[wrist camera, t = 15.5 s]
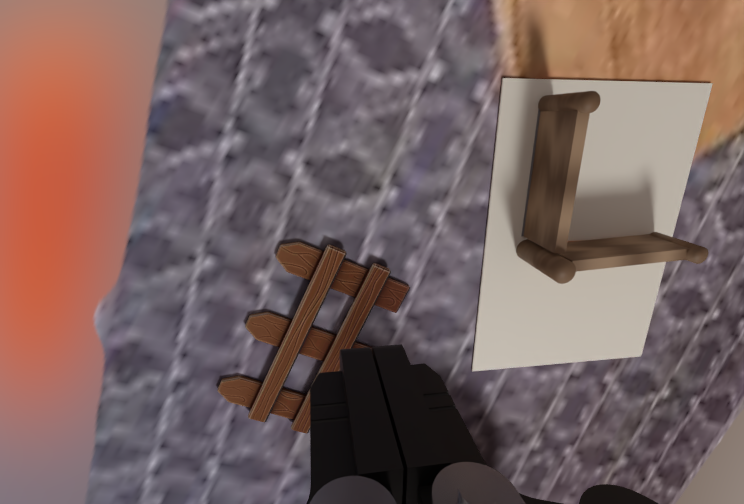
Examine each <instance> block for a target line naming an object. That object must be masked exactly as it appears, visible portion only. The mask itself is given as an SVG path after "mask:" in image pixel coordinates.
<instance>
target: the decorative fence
mask: <svg viewBox="0 0 744 504" xmlns="http://www.w3.org/2000/svg"><path fill="white" fill-rule="evenodd" d="M345 256H346V251H345V250H342V249H340V248H337V247H335V246H333V245H330V244H329V245H327V247H326V249H325V251H322V250H320V249H317V248H315V247H312V246H310V245H307V244H305V243H302V242H293V243H286V244H281V245H280V247H279V249H278V251H277V254H276V258H277V260H278V261H279V262H280V264H281V265H282V266H283V268H284V269H285V270H286V271H287V272H289V273H292V274H294V275H297V276H300V277H302V278H305V279H307V280H310V283H309V285H308V287H307V290H306V292H305V294H304V296H303V298H302V300H301V302H300V305H299V307H298V309H297V311H296V313H295V315H294V318H293V320H292V319H289V318H286V317H283V316H280V315H277V314H275V313H272V312H262V313H256V314H251V315H250V316H249V318H248V320H247V323H246V325H245V327H246V328H247V330H248V331H249V332H250V333H251V334H252V335H253V336H254V338H255V339H256V340H259V341H262V342H265V343H268V344H271V345H274V346H277V347H280V348H279V350H278V352H277V354H276V356H275V358H274V361H273V363H272V365H271V367H270V369H269V371H268V373H267V376H266V378H265V380H264V382H261V381H258V380H254V379H251V378H247V377H244V376H234V377H228V378H223V379H222V380H221V382H220V385H219V387H218V392H219V393H220V394H221V395H222V396H223V397H224V398H225V399H226V400H227V401H228V402H231V403H234V404H238V405H242V406H245V407H249V408H251V410H250V412H249V414H248V417H249V418H250V419H253V420H257V421H261V422H266V421H267V419H268V416H269V414H270V413H271V414H275V415H279V416H282V417H286V418H290V419H293V420H294V421H293V423H292V425H291V429H292V430H295V431H299V432H303V433H306V434H307V433H308V432H309V430H310V389H309V391H308V393H307V395H305V394H302V393H298V392H295V391H292V390H288V389H285V388H282V387H283V385H284V383H285V381H286V379H287V377H288V375H289V373H290V371H291V369H292V366H293V364H294V362H295V360H296V358H297V356H298V354H302V355H305V356H309V357H312V358H315V359H318V360H321V361H323V363H322V365H321V367H320V369H319V371H318V373H317V375H316V377H317V376H318V374H319V373H323V372H335V371H340V349H352V348H365V347H370V346H367V345H364V344H362V343H359V342H356V339H357V337H358V335H359V333H360V331H361V329H362V327H363V325H364V323H365V321H366V320H367V318H368V316H369V314H370V312H371V310H372V308H373V306H374V305H376V306H379V307H382V308H384V309H387V310H389V311H392V312H395V313H396V312H397V311H398V309H399V308H400V306H401V304H402V302H403V300H404V298H405V296H406V294H407V293H408V291H409V289H410V287H409V285H406V284H404V283H401V282H399V281H397V280H394V279H392V278H389V275H390V273H391V271H390V269H389V268H386V267H384V266H381V265H379V264H376V263H373V264H372V266H371V268H370V270H369V269H367V268H364V267H362V266H359V265H357V264H354V263H352V262H350V261H347V260H345V259H344V258H345ZM330 288H331V289H334V290H337V291H339V292H342V293H345V294H347V295H350V296H352V297H355V300H354V302H353V304H352V306H351V308H350V310H349V312H348V314H347V316H346V318H345V320H344V322H343V324H342V326H341V328H340V330H339V331H338V333H337V335H335V334H333V333H330V332H327V331H324V330H321V329H318V328H315V327H312V325H313V323H314V321H315V319H316V317H317V314H318V312H319V310H320V308H321V306H322V304H323V302H324V300H325V298H326V296H327V294H328V292H329V289H330ZM370 348H372V347H370ZM316 377H315V379H316ZM315 379H314V381H315ZM314 381H313V382H314ZM312 384H313V383H312ZM311 386H312V385H311Z"/></svg>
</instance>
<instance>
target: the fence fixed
mask: <svg viewBox="0 0 744 504" xmlns="http://www.w3.org/2000/svg"><path fill="white" fill-rule="evenodd" d="M600 100H601V99H600V95H599V94H598V93H597V92H596V91H586V92H575V93H565V94H555V95H546V96H543V97H542V98H541V99H540V101H539V103H538V109H539V110H540V119H539V126H538V133H537V141H536V148H535V155H534V163H533V170H532V177H531V184H530V192H529V199H528V206H527V214H526V221H525V228H524V237H525V238H527V239H526V240H523V241H521V242H520V243H519V244H518V246H517V249H516V254H517V256H518V257H519V258H521V259H522V260H524V261H525V262H527V263H528V264H530V265H531V266H533V267H534V268H536V269H537V270H539V271H540V272H542V273H543V274H545V275H546V276H548V277H550V278H551V279H553V280H554V281H556V282H557V283H560V284H565V283H568V282H569V281H571V280H572V279H573V277H574V276H575V273H576V266H575V265H574V263H572V262H571V261H569V260H567V259H565V258H563V257H562V256H560V255H558V254H556V253H566V247H567V241H568V236H569V230H570V224H571V218H572V213H573V207H574V201H575V196H576V190H577V184H578V178H579V173H580V167H581V161H582V155H583V150H584V144H585V138H586V132H587V127H588V121H589V115H590V113H592V112H594V111H596V110H597V108H598V107H599V105H600Z"/></svg>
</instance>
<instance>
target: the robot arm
mask: <svg viewBox="0 0 744 504" xmlns="http://www.w3.org/2000/svg"><path fill="white" fill-rule="evenodd" d="M310 436H311V490H310V495H309V499H308V501H307V504H562V503H556V502H550V501H544V500H539V499H535V498H530V497H528V496H525V495H522V494H520V493H518V491H517V490H516V488H515V487H514V486H513V484H512V483H511V482H510V481H509V480H508V479H507V478H506V477H505V476H503V475H502V474H501V473H499V472H498V471H496V470H494V469H493V468H490V467H488V466H486V464H485V462H484V460H483V458H482V456H481V455H480V453H479V451H478V449H477V447H476V445H475V443H474V441H473V439H472V437H471V435H470V433H469V431H468V429H467V427H466V425H465V423H464V421H463V420H462V418H461V416H460V414H459V412H458V410H457V409H456V408H455V404H454V402H453V400H452V398H451V396H450V395H449V394H448V390H447V388H446V386H445V385H444V383H443V381H442V379H441V377H440V376H439V375H438V374H437V373H436V372H435V371H433V370H432V369H431V368H430V367H428V366H427V365H426V364H416V365H410V362H409V360H408V358H407V355H406V353H405V350H404V348H403V346H402V345H389V346H376V347H372V348H370V347H365V348H352V349H340V371H335V372H323V373H319V374H318V376H317V377H316V379H315V381H314V382H313V384H312V386H311V387H310ZM579 504H658V503H656V502H654V501H653V500H651V499H649V498H647V497H645V496H643V495H641V494H639V493H637V492H635V491H633V490H630V489H627V488H624V487H620V486H616V485H608V484H606V485H596V486H593V487H591V488H589V489H587V490H586V491H585V492H584V493H583V495H582V496H581V499H580V502H579Z"/></svg>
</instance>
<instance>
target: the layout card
mask: <svg viewBox="0 0 744 504" xmlns="http://www.w3.org/2000/svg"><path fill="white" fill-rule="evenodd" d="M712 84H713V83H675V82H637V81H598V80H560V79H521V78H502V85H501V94H500V104H499V113H498V123H497V133H496V142H495V152H494V161H493V171H492V180H491V190H490V199H489V209H488V219H487V228H486V238H485V247H484V257H483V266H482V276H481V285H480V295H479V305H478V314H477V324H476V333H475V343H474V352H473V362H472V371H482V370H493V369H504V368H516V367H527V366H538V365H549V364H560V363H571V362H583V361H594V360H605V359H616V358H627V357H639V356H641V355H642V351H643V347H644V343H645V340H646V336H647V332H648V328H649V324H650V321H651V317H652V313H653V309H654V305H655V301H656V298H657V294H658V290H659V286H660V282H661V279H662V275H663V271H664V267H665V263H666V262H659V263H650V264H641V265H631V266H622V267H613V268H604V269H595V270H586V271H577V272H576V273H575V276H574V277H573V279H572V280H571V281H569V282H568V283H565V284H560V283H557V282H556V281H554V280H553V279H551V278H550V277H548V276H546V275H545V274H543V273H542V272H540V271H539V270H537V269H536V268H534V267H533V266H531V265H530V264H528V263H527V262H525V261H524V260H522V259H521V258H519V257H518V256H517V254H516V249H517V246H518V244H519V243H520V242H521V241H523V240H526V239H527V238H525V237H524V228H525V221H526V214H527V206H528V199H529V192H530V184H531V177H532V170H533V163H534V155H535V148H536V141H537V133H538V126H539V119H540V110H539V109H538V103H539V101H540V99H541V98H542V97H543V96H546V95H555V94H565V93H575V92H586V91H596V92H597V93H598V94H599V95H600V99H601V100H600V105H599V107H598V108H597V110H596V111H594V112H592V113H590V115H589V121H588V127H587V132H586V138H585V144H584V150H583V155H582V161H581V167H580V173H579V178H578V184H577V190H576V196H575V201H574V207H573V213H572V218H571V224H570V230H569V236H568V241H567V242H574V241H585V240H595V239H605V238H615V237H625V236H635V235H645V234H650V233H652V232H658V233H661V234H664V235H668V236H671V237H673V233H674V229H675V225H676V221H677V218H678V214H679V210H680V206H681V202H682V198H683V195H684V191H685V187H686V183H687V179H688V176H689V172H690V168H691V164H692V160H693V157H694V153H695V149H696V145H697V141H698V137H699V134H700V130H701V126H702V122H703V118H704V115H705V111H706V107H707V103H708V99H709V95H710V92H711V88H712Z"/></svg>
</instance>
